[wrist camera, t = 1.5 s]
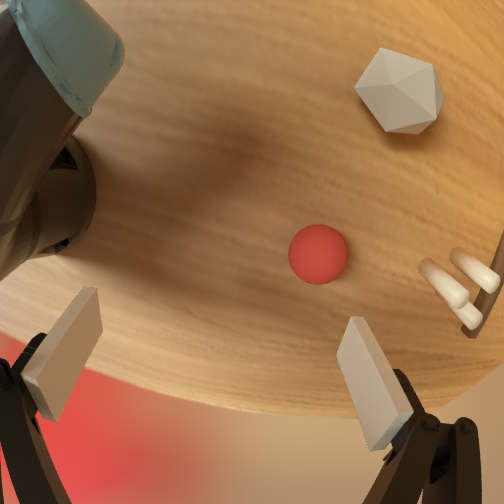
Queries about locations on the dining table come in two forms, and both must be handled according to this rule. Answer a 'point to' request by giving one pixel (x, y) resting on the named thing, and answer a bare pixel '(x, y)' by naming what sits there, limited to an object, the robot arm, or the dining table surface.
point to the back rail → (485, 301)
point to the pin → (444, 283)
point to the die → (400, 92)
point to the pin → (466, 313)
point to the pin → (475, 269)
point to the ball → (318, 254)
